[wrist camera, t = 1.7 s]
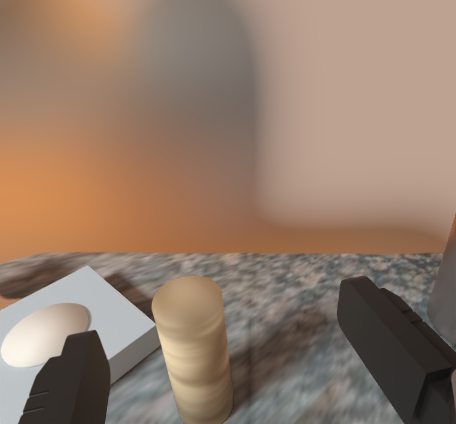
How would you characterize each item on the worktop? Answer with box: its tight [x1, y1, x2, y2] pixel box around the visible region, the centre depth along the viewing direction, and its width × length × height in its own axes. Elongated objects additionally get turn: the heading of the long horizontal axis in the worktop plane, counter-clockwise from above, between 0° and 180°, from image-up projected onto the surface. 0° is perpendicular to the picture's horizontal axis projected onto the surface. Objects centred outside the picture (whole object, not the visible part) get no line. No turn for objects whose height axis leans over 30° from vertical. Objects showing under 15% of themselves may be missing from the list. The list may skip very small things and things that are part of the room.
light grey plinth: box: [0, 265, 161, 424], centre depth 33 cm, size 16×16×3 cm
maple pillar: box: [152, 276, 234, 424], centre depth 25 cm, size 5×5×12 cm
